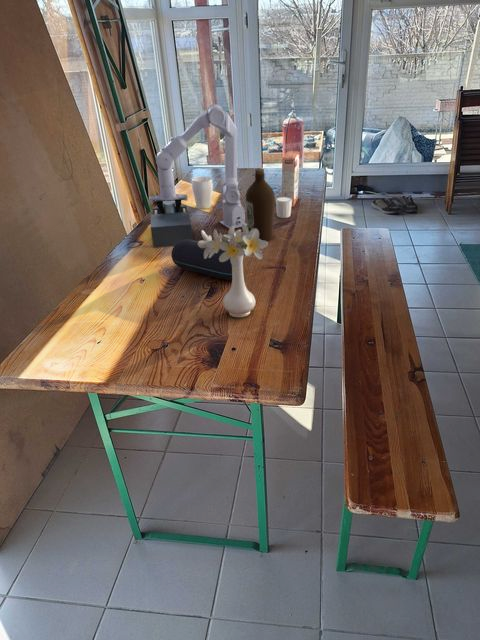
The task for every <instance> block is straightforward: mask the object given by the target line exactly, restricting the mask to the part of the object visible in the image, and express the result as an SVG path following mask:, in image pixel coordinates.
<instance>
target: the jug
mask: <svg viewBox="0 0 480 640" xmlns="http://www.w3.org/2000/svg"><path fill="white" fill-rule="evenodd" d="M163 206H164V213H165V214H166V213H176V210H175V201H166V202H163Z"/></svg>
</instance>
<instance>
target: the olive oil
mask: <svg viewBox="0 0 480 640" xmlns="http://www.w3.org/2000/svg"><path fill="white" fill-rule="evenodd" d="M254 171H255V173H254V181H253V182H252V183H251V185H250V186H249V187H248V189H247V190H246V193H245V208H246V220H247V228H248V230H249V232H250V231H251V230H252V229H254V228H256V229H257V230H258V231H259V239H261V240H264V241H267V242H268V241H270V240H272V239H273V238H274V221H275V219H274V218H275V203H276V196H275V192H274V189H273V187H271V185H269V184H268V182H267V181H266V178H265V177H266V176H265V175H266V174H265V169H264V168H256V169H255V170H254ZM248 234H249V233H248Z"/></svg>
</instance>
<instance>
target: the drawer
mask: <svg viewBox="0 0 480 640" xmlns="http://www.w3.org/2000/svg"><path fill="white" fill-rule="evenodd" d="M187 207H188V206H187V205H181V206H180V209H179V213H180V212H188V208H187ZM175 210H176V207H175ZM152 211H153V214H161V212H160V210H159V208H158V207H157V206H156V207H152Z"/></svg>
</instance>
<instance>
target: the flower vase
mask: <svg viewBox="0 0 480 640" xmlns="http://www.w3.org/2000/svg"><path fill="white" fill-rule="evenodd" d="M241 228H242V230H241V229H238V230H236V231H235V228H234V227H233V226H232V227H231V228H230V229H229V228H228V232H227V234H222V233H221V232H220V233H218V231H217V229H214V230H213V238H212V235H211V234H209V235H208V234H206V232H205V230H203V229H201V231H200V232H201V233H200V235H201V237H202V239H203V240H198V241H199V242H198V246H199V247H200V248H206V249H205V251H204V259H206V258H207V256H208V254H209V252H210V254H209V258H211V257H212V256H213V254H214V253H218V251H219V249H222V250H223V251H226V252H224V253H222V254H221V256H220V257H219V261H220V262H225V261H227V260H228V259H229V258H230V257H231V258H230V261H231V264H232V280H231V285H230V288H229V290H228V291H227V292H226V294H225V295H224V296H223V298H222V306H223V308H224V310H225V311H226V312H228V314H229V316H231V317H234V318H245V317H247V316H249V315H250V314H251V311H252V310H254V308H255V306H256V304H257V302H256V298H255V296H254V294H253V293H252V292H251V291H250V290H249V289H248V288H247V286H246V284H245V283H246V282H245V276H244V264H243V259H244V255H245V256H246V257H249V256H251V255H252V254H254V256H255V257H256V258H257V259H258V260H263V253H262V251H261V250H262V249H265V248H267V247H268V246H269V242H268V240H267V241H264V240H261V239H259V231H258V230H257V229H256V228H254V229H252V230H251V231H250V232H249V230H248V226H246V225H245V224H242V227H241ZM242 231H243V232H242ZM248 233H249V234H248ZM212 239H213V240H212ZM240 245H242V246H240ZM213 248H215V249H213Z"/></svg>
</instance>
